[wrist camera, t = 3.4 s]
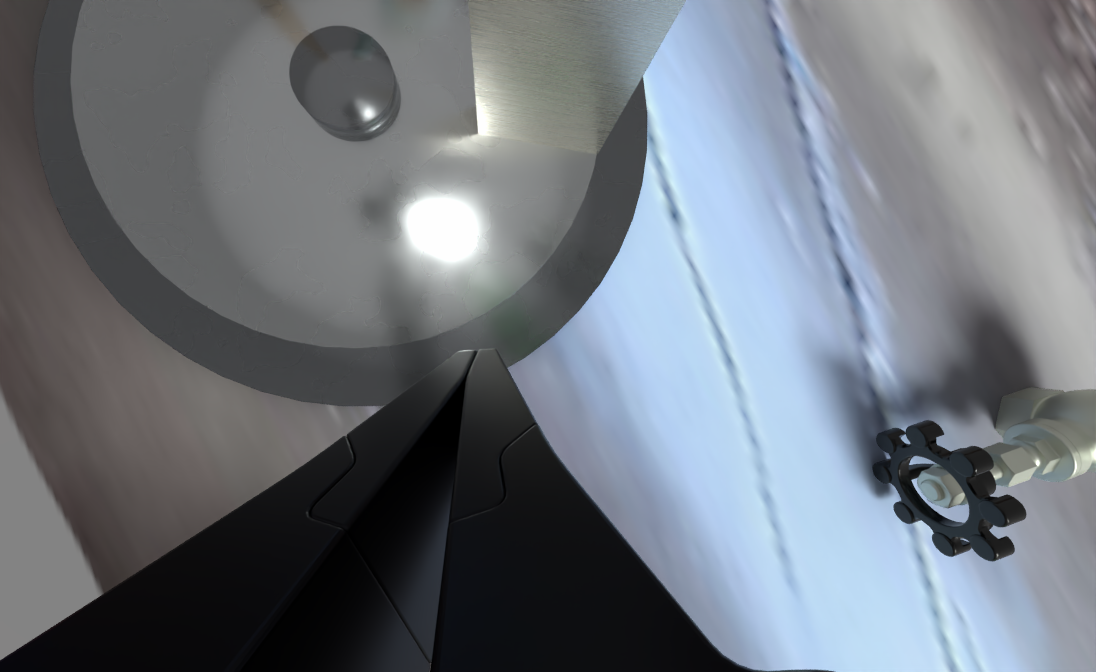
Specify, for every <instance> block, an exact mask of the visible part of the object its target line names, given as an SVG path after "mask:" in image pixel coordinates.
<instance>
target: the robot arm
mask: <svg viewBox="0 0 1096 672" xmlns="http://www.w3.org/2000/svg"><path fill="white" fill-rule="evenodd" d="M431 661H432V662H431ZM430 663H431V670H430ZM429 670H430V672H834V671H828V670H781V671H762V670H753V669H750V668H747V667H745V666H742V665H739V664H737V663H735V662H734V661H732V660H731V659H729V658H727V657H726V656H724V655H723V654H722V653H721V652H720V651H719V650H718V649H717V648H716V647H715V646H714V645H713V644H712V643H711V642H710V641H709V640H708V638H707V637H706V636H705V635H704V634H703V632H702V631H701V630H700V629H699V628H698V626H697V625H696V624H695V623H694V621H693V620H692V619H691V618H690V617H689V615H688V614H687V613H686V612H685V611H684V609H683V608H682V607H681V606H680V605H679V603H678V602H677V601H676V600H675V598H674V597H673V596H672V595H671V594H670V592H669V591H668V590H667V589H666V588H665V586H664V585H663V584H662V583H661V582H660V580H659V579H658V578H657V577H656V575H655V574H654V573H653V572H652V571H651V569H650V568H649V567H648V566H647V565H646V563H645V562H644V561H643V560H642V559H641V557H640V556H639V555H638V554H637V552H636V551H635V550H634V549H633V548H632V546H631V545H630V544H629V543H628V542H627V540H626V539H625V538H624V537H623V536H622V534H621V533H620V532H619V531H618V530H617V528H616V527H615V526H614V525H613V523H612V522H611V521H610V520H609V519H608V517H607V516H606V515H605V514H604V513H603V511H602V510H601V509H600V508H599V507H598V505H597V504H596V503H595V502H594V500H593V499H592V498H591V497H590V496H589V494H588V493H587V492H586V491H585V490H584V488H583V487H582V486H581V485H580V484H579V482H578V481H577V480H576V479H575V477H574V476H573V475H572V474H571V473H570V471H569V470H568V469H567V468H566V466H565V465H564V464H563V462H562V461H561V460H560V458H559V457H558V456H557V454H556V453H555V452H554V450H553V448H552V447H551V445H550V444H549V442H548V440H547V439H546V437H545V435H544V434H543V432H542V430H541V428H540V426H539V425H538V424H537V422H536V420H535V418H534V416H533V414H532V413H531V411H530V409H529V407H528V405H527V404H526V402H525V400H524V398H523V396H522V394H521V393H520V391H519V389H518V387H517V385H516V383H515V382H514V380H513V378H512V376H511V374H510V372H509V371H508V369H507V367H506V365H505V363H504V362H503V360H502V358H501V356H500V354H499V352H498V351H497V350H496V349H481V350H479V351H478V352H477V351H476V350H464V351H458V352H457V353H455V354H454V355H453V356H451V357H450V358H449V359H447V360H446V361H445V362H443V363H442V364H441V365H439V366H438V367H437V368H435V369H434V370H433V371H431V372H430V373H429V374H427V375H426V376H425V377H423V378H422V379H420V380H419V381H418V382H416V383H415V384H414V385H412V386H411V387H410V388H408V389H407V390H406V391H404V392H403V393H402V394H400V395H399V396H398V397H396V398H395V399H394V400H392V401H391V402H390V403H388V404H387V405H386V406H384V407H383V408H382V409H380V410H379V411H378V412H376V413H375V414H374V415H372V416H371V417H370V418H368V419H367V420H366V421H364V422H363V423H361V424H360V425H359V426H357V427H356V428H355V429H353V430H352V431H351V432H349V433H348V434H347V437H346V436H343V437H342V438H340V439H339V440H338V441H336V442H335V443H334V444H332V445H331V446H330V447H328V448H327V449H325V450H324V451H323V452H321V453H320V454H318V455H317V456H316V457H314V458H313V459H311V460H310V461H309V462H307V463H306V464H304V465H303V466H301V467H300V468H298V469H297V470H295V471H294V472H292V473H291V474H289V475H288V476H286V477H285V478H283V479H282V480H280V481H279V482H277V483H276V484H274V485H273V486H271V487H270V488H268V489H266V490H265V491H263V492H262V493H260V494H259V495H257V496H256V497H254V498H252V499H251V500H249V501H248V502H246V503H245V504H243V505H242V506H240V507H238V508H237V509H235V510H234V511H232V512H231V513H229V514H228V515H226V516H224V517H223V518H221V519H220V520H218V521H217V522H215V523H214V524H212V525H210V526H209V527H207V528H206V529H204V530H203V531H201V532H199V533H198V534H196V535H195V536H193V537H192V538H190V539H189V540H187V541H185V542H184V543H182V544H181V545H179V546H178V547H176V548H175V549H173V550H171V551H170V552H168V553H167V554H165V555H164V556H162V557H161V558H159V559H157V560H156V561H154V562H153V563H151V564H150V565H148V566H146V567H145V568H143V569H142V570H140V571H139V572H137V573H136V574H134V575H132V576H131V577H129V578H128V579H126V580H125V581H123V582H122V583H120V584H118V585H117V586H115V587H114V588H112V589H111V590H109V591H108V592H106V593H104V594H103V595H101V596H100V597H98V598H97V599H95V600H94V601H92V602H91V603H89V604H87V605H86V606H84V607H83V608H81V609H80V610H78V611H76V612H75V613H73V614H72V615H70V616H69V617H67V618H65V619H64V620H62V621H61V622H59V623H58V624H56V625H55V626H53V627H51V628H50V629H48V630H47V631H45V632H44V633H42V634H41V635H39V636H37V637H36V638H34V639H33V640H31V641H30V642H28V643H27V644H25V645H24V646H22V647H20V648H19V649H17V650H16V651H14V652H13V653H11V654H9V655H8V656H6V657H5V658H3V659H2V660H0V672H429Z"/></svg>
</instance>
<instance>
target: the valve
mask: <svg viewBox="0 0 1096 672" xmlns="http://www.w3.org/2000/svg"><path fill="white" fill-rule="evenodd" d="M995 429H996V431H997V432H998V433H999V434H1000V435H1001V436H1002V437H1003V443H1000V442H999V443H996V444H994V445H991V446H988V447H985V448H980V447H977V446H970V447H967V448H960V449H957V450H954V451H951V452H950V451H948V450H947V449H945V448H943V447H941V446H938V445H937V444H936V437H939V436H942V435H944V432H943V430H942V429H941V427H940V426H939V425H938V424H936V423H935V422H933V421H929V420H926V421H923V422H920V423H917V424H914V425H911V426H909V427H907V429H906V433H905V432H904V431H903V430H901V429H899V428H892V429H890V430H887V431H884V432H881V433H878V434H877V436H876V441H877V444H878V446H879V447H880V448H881V449H882V450H883V451H884V452H886V453H889V455H890V457H891V459H886V460H884V461H881V462H878V463H875V464H874V465H873V467H872V468H873V472H874V475H875V477H876V478H877V479H878V480H879V481H880V482H882V483H885V484H889V483H891V484H892V485H893V486H894V487H895V488H896V489H897V491H898V493H899V495H900V497H901V501H899V502H896V503H895V504H894V506H893V508H894V512H895V514H896V515H897V517H898V518H899V519H900V520H901V521H903V522H904V523H907V524H912V523H915V522H918V521H920V520H922V521H923V522H924V523H926V524H927V525H928V526H929V527H930V528H931V529H932V530H933V532H934V534H933V535H932V541H933V543H934V545H935V546H936V548H937V549H938V550H939V551H940V552H941V553H943V554H944V555H946V556H949V557H953V556H956V555H959V554H961V553H964V552H966V551H969V550H970V549H971V547H972V549H973V550H974V551H975V552H976V553H977V554H978V555H979V556H980V557H982V558H983V559H985V560H988V561H996V560H999V559H1001V558H1004V557H1006V556H1009V555H1012V554H1013V553H1014V551H1015V548H1014V545H1013V543H1012V541H1011V540H1010V539H1009V537H1007V536H1006V537H1003V538H1000V539H998V538H996V537H995V536H994V535H993V534H992V533H991V532H990V531H989V530H990V529H991V528H992V527H993V525H995V526H997V527H1006V526H1009V525H1011V524H1014V523H1017V522H1019V521H1022V520H1024V519H1025V518H1026V510H1025V508H1024V506H1023V505H1022V504H1021V503H1020V502H1019V501H1018V500H1017V499H1015V498H1014V497H1012V496H1010V495H1004V496H1001V497H999V498H998V497H991V496H990V495H991V494H993V493H994V491H995V490H996V485H999V486H1004V487H1011V486H1013V485H1016V484H1019V483H1021V482H1024V481H1027V480H1029V479H1030V478H1031V476H1034V477H1036V478H1038V479H1041V480H1045V481H1050V482H1061V481H1065V480H1068V479H1071V478H1074V477H1076V476H1079V475H1081V474H1084V473H1085V472H1086V471H1088V472H1093V473H1096V390H1093V389H1087V390H1074V391H1068V392H1064V391H1063V390H1053V389H1043V388H1032V387H1029V388H1026V389H1023V390H1020V391H1017V392H1014V393H1011V394H1008V395H1005V396H1003V397H1002V399H1001V404H1000V408H999V412H998V417H997V421H996V426H995ZM905 434H906V436H907V438H908V440H909V441H910V443H911V444H906V443H904V442H903V441H902V440H901V437H902V436H903V435H905ZM913 456H920V457H924V458H927V459H929V460H931V461H933V462H935V463H937V464H913V465H909V463H910V460H911V459H912V457H913ZM915 478H918V480H917V484H918V486H919V488H920V490H921V492H922V493H923V495H924V496H925V497H926V498H927V499H928V500H929V501H930V502H931V503H933V504H935V505H938V506H941V507H944V508H950V507H953V506H956V505H965V504H969V517H968V520H967V521H966V522H965V523H962V522H955V521H952V520H950V519H947V518H945V517H943V516H942V515H940V514H939V513H937V512H936V511H935V510H933V509H932V508H931V507H930V506H929V505H928V504H927V503H926V502H925V501H924V500H923V499H922V498H921V497H920V495H919V494H918V492H917V491H916V489H915V488H914V486H913V483H912V481H911V480H912V479H915ZM960 538H964V539H967V540H968V541H969V542H966V541H964V540H961V539H960Z"/></svg>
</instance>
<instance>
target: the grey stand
mask: <svg viewBox="0 0 1096 672" xmlns="http://www.w3.org/2000/svg"><path fill="white" fill-rule="evenodd" d="M685 2H686V0H84V1H83V4H82V6H81V9H80V12H79V16H78V21H77V26H76V31H75V36H74V41H73V46H72V63H71V93H72V103H73V114H74V120H75V124H76V129H77V133H78V137H79V141H80V145H81V150H82V153H83V156H84V158H85V161H86V163H87V166H88V168H89V171H90V174H91V176H92V179H93V181H94V184H95V186H96V188H97V190H98V192H99V193H100V195H101V197H102V199H103V201H104V202H105V204H106V206H107V208H108V209H109V211H110V213H111V215H112V217H113V218H114V220H115V221H116V222H117V224H118V225H119V226H120V228H121V229H122V230H123V232H124V233H125V234H126V236H127V237H128V238H129V240H130V241H131V242H132V244H133V245H134V246H135V248H136V249H137V250H138V251H139V252H140V253H141V254H142V255H143V256H144V257H145V258H146V259H147V260H148V261H149V262H150V263H151V264H152V265H153V266H154V267H155V268H156V269H157V270H158V271H159V272H160V273H161V274H162V275H163V276H164V277H166V278H167V279H168V280H169V281H171V282H172V283H173V284H175V285H176V286H177V287H178V288H180V289H181V290H182V291H183V292H185V293H186V294H187V295H188V296H190V297H191V298H193V299H195V300H196V301H198V302H200V303H201V304H203V305H205V306H206V307H208V308H209V309H211V310H213V311H214V312H216V313H218V314H219V315H221V316H223V317H226V318H228V319H230V320H232V321H235V322H237V323H239V324H241V325H244V326H246V327H248V328H250V329H252V330H255V331H258V332H262V333H265V334H268V335H271V336H275V337H278V338H281V339H285V340H288V341H293V342H299V343H305V344H311V345H317V346H322V347H342V348H367V347H379V346H392V345H399V344H404V343H409V342H414V341H419V340H423V339H428V338H431V337H434V336H437V335H440V334H443V333H446V332H449V331H451V330H454V329H457V328H459V327H461V326H463V325H465V324H467V323H469V322H471V321H473V320H475V319H477V318H479V317H481V316H483V315H485V314H487V313H488V312H490V311H491V310H493V309H494V308H496V307H497V306H499V305H500V304H502V303H503V302H505V301H506V300H507V299H509V298H510V297H511V296H513V295H514V294H515V293H516V292H517V291H518V290H519V289H520V288H522V287H523V286H524V285H525V284H526V283H527V282H528V281H529V280H531V279H532V278H533V276H534V275H535V274H536V273H537V272H538V271H539V269H540V268H541V267H542V266H543V265H544V264H545V262H546V261H547V260H548V259H549V258H550V257H551V255H552V254H553V253H554V251H555V250H556V248H557V247H558V245H559V244H560V242H561V241H562V239H563V237H564V236H565V234H566V233H567V231H568V230H569V228H570V227H571V225H572V223H573V221H574V219H575V217H576V215H577V213H578V210H579V208H580V206H581V204H582V202H583V200H584V198H585V195H586V192H587V189H588V185H589V182H590V179H591V176H592V173H593V170H594V166H595V160H596V155H597V154H598V153H599V151H600V149H601V148H602V146H603V144H604V142H605V141H606V139H607V137H608V135H609V134H610V132H611V130H612V128H613V127H614V125H615V123H616V122H617V120H618V118H619V116H620V115H621V113H622V111H623V109H624V108H625V106H626V104H627V102H628V101H629V99H630V97H631V95H632V94H633V92H634V90H635V89H636V87H637V85H638V83H639V82H640V80H641V78H642V76H643V75H644V73H645V71H646V69H647V68H648V66H649V64H650V62H651V61H652V59H653V57H654V56H655V54H656V52H657V50H658V49H659V47H660V45H661V43H662V42H663V40H664V38H665V36H666V35H667V33H668V31H669V29H670V28H671V26H672V24H673V23H674V21H675V19H676V17H677V16H678V14H679V12H680V10H681V9H682V7H683V5H684V3H685Z"/></svg>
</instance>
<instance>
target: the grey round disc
mask: <svg viewBox="0 0 1096 672" xmlns="http://www.w3.org/2000/svg"><path fill="white" fill-rule="evenodd" d="M83 1H84V0H49V3H48V6H47V10H46V13H45V16H44V19H43V22H42V26H41V29H40V34H39V40H38V47H37V53H36V60H35V66H34V119H35V126H36V133H37V140H38V147H39V154H40V158H41V161H42V165H43V168H44V171H45V175H46V178H47V182H48V185H49V189H50V192H51V195H52V197H53V200H54V202H55V204H56V206H57V209H58V211H59V213H60V215H61V217H62V220H63V222H64V224H65V226H66V228H67V231H68V233H69V235H70V236H71V238H72V239H73V241H74V243H75V244H76V246H77V247H78V249H79V251H80V252H81V254H82V255H83V257H84V259H85V260H86V262H87V263H88V265H89V266H90V268H91V270H92V271H93V272H94V273H95V275H96V276H97V277H98V278H99V279H100V281H101V282H102V283H103V284H104V285H105V287H106V288H107V289H108V290H109V291H110V293H111V294H112V295H113V296H114V297H115V299H116V300H117V301H118V302H119V303H120V304H121V305H122V306H123V307H124V308H125V309H126V310H127V311H128V312H129V313H131V314H132V315H133V316H134V317H135V318H136V319H137V320H138V321H139V322H140V323H141V324H142V325H144V326H145V327H146V328H147V329H148V330H149V331H150V332H151V333H153V334H154V335H155V336H157V337H158V338H160V339H161V340H163V341H164V342H165V343H167V344H168V345H170V346H171V347H172V348H174V349H175V350H177V351H178V352H179V353H181V354H182V355H184V356H185V357H187V358H189V359H191V360H192V361H194V362H196V363H198V364H200V365H202V366H204V367H206V368H207V369H209V370H211V371H213V372H215V373H217V374H219V375H221V376H222V377H225V378H228V379H230V380H233V381H235V382H238V383H241V384H243V385H246V386H248V387H251V388H254V389H256V390H259V391H262V392H266V393H270V394H274V395H278V396H282V397H286V398H290V399H294V400H298V401H303V402H311V403H320V404H329V405H337V406H383V405H387V404H388V403H390V402H391V401H392V400H394V399H395V398H396V397H398V396H399V395H400V394H402V393H403V392H404V391H406V390H407V389H408V388H410V387H411V386H412V385H414V384H415V383H416V382H418V381H419V380H420V379H422V378H423V377H425V376H426V375H427V374H429V373H430V372H431V371H433V370H434V369H435V368H437V367H438V366H439V365H441V364H442V363H443V362H445V361H446V360H447V359H449V358H450V357H451V356H453V355H454V354H455V353H457V352H458V351H464V350H476V351H477V352H478V351H479V350H481V349H496V350H497V351H498V352H499V354H500V356H501V358H502V360H503V362H504V363H505V365H506V367H507V368H508V367H509V366H511V365H513V364H515V363H516V362H518V361H520V360H522V359H523V358H525V357H526V356H528V355H529V354H530V353H532V352H533V351H534V350H536V349H537V348H538V347H540V346H541V345H542V344H544V343H545V342H546V341H547V340H549V339H550V338H551V337H553V336H554V335H555V334H556V333H557V332H558V331H559V330H560V329H561V328H562V327H563V326H564V325H565V324H566V323H567V322H568V321H569V320H570V319H571V318H572V317H573V316H574V315H575V314H576V313H577V312H578V311H579V310H580V309H581V308H582V306H583V305H584V304H585V303H586V301H587V300H588V299H589V297H590V296H591V295H592V293H593V292H594V291H595V290H596V288H597V287H598V286H599V284H600V283H601V282H602V280H603V278H604V277H605V275H606V273H607V271H608V270H609V268H610V266H611V265H612V263H613V261H614V259H615V258H616V256H617V254H618V253H619V251H620V248H621V246H622V243H623V241H624V239H625V236H626V234H627V231H628V229H629V227H630V224H631V222H632V219H633V216H634V213H635V209H636V205H637V201H638V198H639V194H640V190H641V187H642V182H643V174H644V167H645V160H646V153H647V108H646V99H645V90H644V82H643V76H642V78H641V80H640V82H639V83H638V85H637V87H636V89H635V90H634V92H633V94H632V95H631V97H630V99H629V101H628V102H627V104H626V106H625V108H624V109H623V111H622V113H621V115H620V116H619V118H618V120H617V122H616V123H615V125H614V127H613V128H612V130H611V132H610V134H609V135H608V137H607V139H606V141H605V142H604V144H603V146H602V148H601V149H600V151H599V153H598V154H597V155H596V160H595V166H594V170H593V173H592V176H591V179H590V182H589V185H588V189H587V192H586V195H585V198H584V200H583V202H582V204H581V206H580V208H579V210H578V213H577V215H576V217H575V219H574V221H573V223H572V225H571V227H570V228H569V230H568V231H567V233H566V234H565V236H564V237H563V239H562V241H561V242H560V244H559V245H558V247H557V248H556V250H555V251H554V253H553V254H552V255H551V257H550V258H549V259H548V260H547V261H546V262H545V264H544V265H543V266H542V267H541V268H540V269H539V271H538V272H537V273H536V274H535V275H534V276H533V278H532V279H531V280H529V281H528V282H527V283H526V284H525V285H524V286H523V287H522V288H520V289H519V290H518V291H517V292H516V293H515V294H514V295H513V296H511V297H510V298H509V299H507V300H506V301H505V302H503V303H502V304H500V305H499V306H497V307H496V308H494V309H493V310H491V311H490V312H488V313H487V314H485V315H483V316H481V317H479V318H477V319H475V320H473V321H471V322H469V323H467V324H465V325H463V326H461V327H459V328H457V329H454V330H451V331H449V332H446V333H443V334H440V335H437V336H434V337H431V338H428V339H423V340H419V341H414V342H409V343H404V344H399V345H392V346H379V347H367V348H342V347H322V346H317V345H311V344H305V343H299V342H293V341H288V340H285V339H281V338H278V337H275V336H271V335H268V334H265V333H262V332H258V331H255V330H252V329H250V328H248V327H246V326H244V325H241V324H239V323H237V322H235V321H232V320H230V319H228V318H226V317H223V316H221V315H219V314H218V313H216V312H214V311H213V310H211V309H209V308H208V307H206V306H205V305H203V304H201V303H200V302H198V301H196V300H195V299H193V298H191V297H190V296H188V295H187V294H186V293H185V292H183V291H182V290H181V289H180V288H178V287H177V286H176V285H175V284H173V283H172V282H171V281H169V280H168V279H167V278H166V277H164V276H163V275H162V274H161V273H160V272H159V271H158V270H157V269H156V268H155V267H154V266H153V265H152V264H151V263H150V262H149V261H148V260H147V259H146V258H145V257H144V256H143V255H142V254H141V253H140V252H139V251H138V250H137V249H136V248H135V246H134V245H133V244H132V242H131V241H130V240H129V238H128V237H127V236H126V234H125V233H124V232H123V230H122V229H121V228H120V226H119V225H118V224H117V222H116V221H115V220H114V218H113V217H112V215H111V213H110V211H109V209H108V208H107V206H106V204H105V202H104V201H103V199H102V197H101V195H100V193H99V192H98V190H97V188H96V186H95V184H94V181H93V179H92V176H91V174H90V171H89V168H88V166H87V163H86V161H85V158H84V156H83V153H82V150H81V145H80V141H79V137H78V133H77V129H76V124H75V120H74V114H73V103H72V93H71V63H72V46H73V41H74V36H75V31H76V26H77V21H78V16H79V12H80V9H81V6H82V4H83Z"/></svg>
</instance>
